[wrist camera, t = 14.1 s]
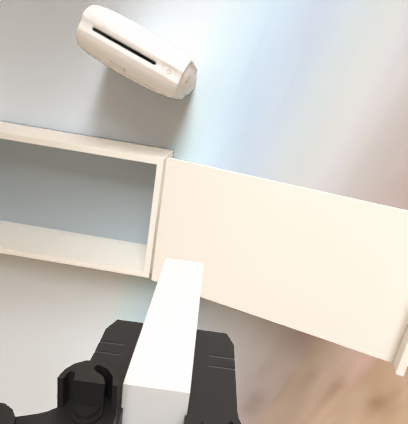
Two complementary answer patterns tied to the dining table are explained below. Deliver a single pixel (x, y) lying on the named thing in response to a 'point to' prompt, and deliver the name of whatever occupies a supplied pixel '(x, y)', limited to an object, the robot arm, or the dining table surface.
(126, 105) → the dining table surface
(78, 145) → the box
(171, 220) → the mailer lid
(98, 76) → the dining table surface
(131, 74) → the photo printer
